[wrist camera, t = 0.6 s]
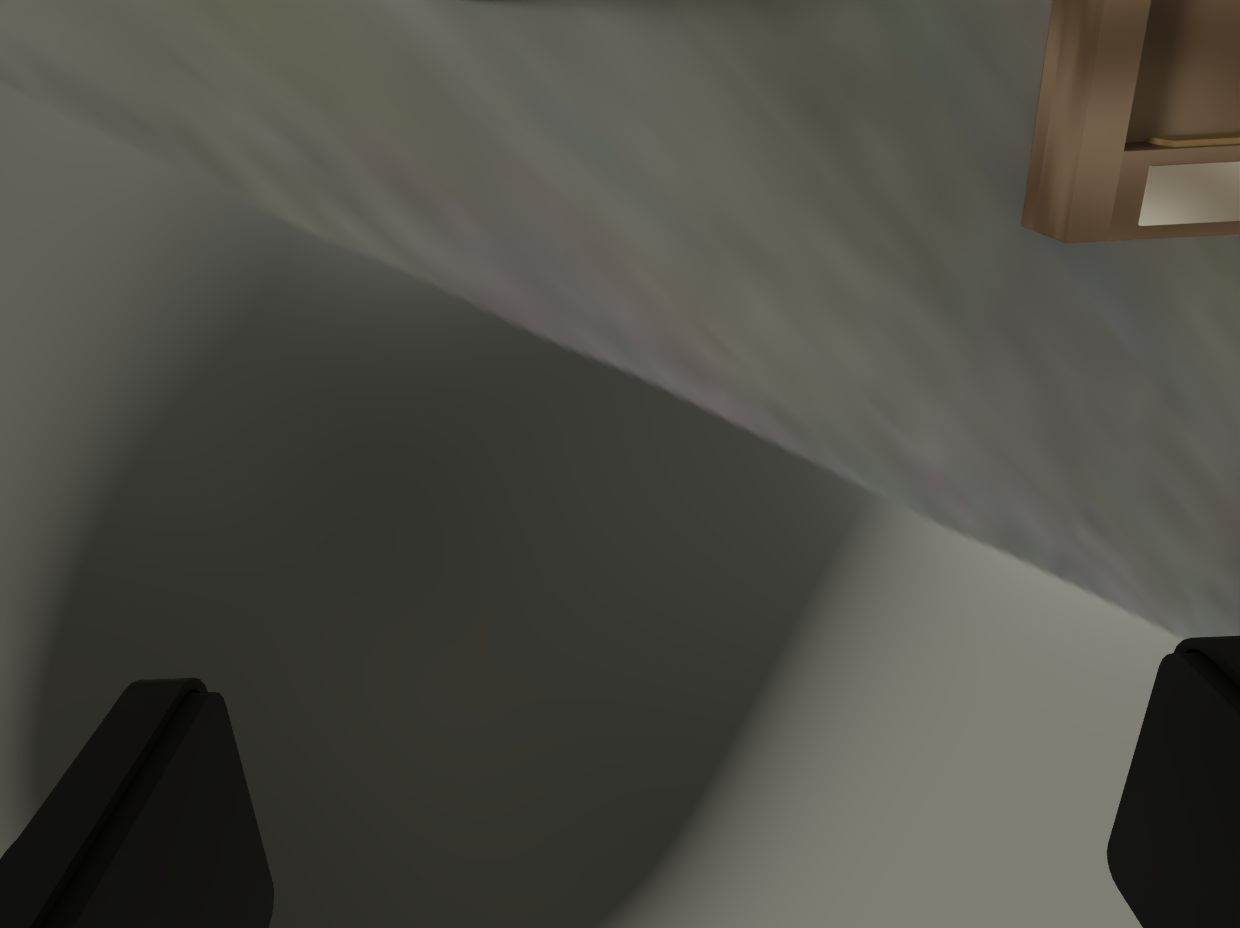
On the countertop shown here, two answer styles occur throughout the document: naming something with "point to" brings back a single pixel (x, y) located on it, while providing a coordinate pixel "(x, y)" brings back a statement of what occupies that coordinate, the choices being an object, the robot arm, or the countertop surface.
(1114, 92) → the wooden cubby shelf
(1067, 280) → the countertop surface
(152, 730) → the robot arm
